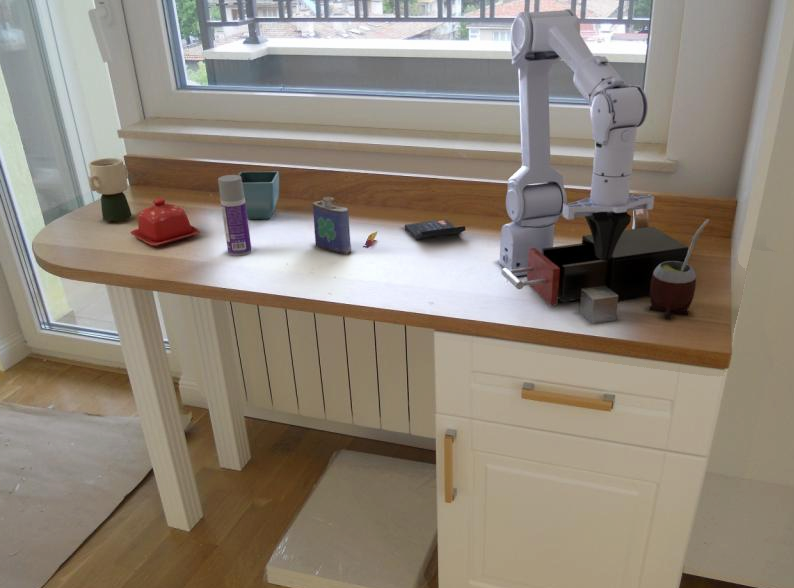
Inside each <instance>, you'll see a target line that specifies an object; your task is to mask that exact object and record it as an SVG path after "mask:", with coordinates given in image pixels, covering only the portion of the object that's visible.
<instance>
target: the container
mask: <svg viewBox="0 0 794 588" xmlns="http://www.w3.org/2000/svg"><path fill="white" fill-rule="evenodd" d="M217 181H218V192H219V200H220V207H221V215H222V221H223V226H224V227H223V228H224V234H225V239H226V246H227V253H228V255H230V256H232V257H242V256H247V255H249V254H251V253H252V251H253V250H252V243H251V235H250V234H251V233H250V227H249V219H248V218H247V211H246V203H245V197H244V191H243V185H242V178H241V176H239V174H227V175H226V174H225V175H222V176H220V177H218V178H217Z"/></svg>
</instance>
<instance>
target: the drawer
mask: <svg viewBox="0 0 794 588" xmlns="http://www.w3.org/2000/svg"><path fill="white" fill-rule="evenodd" d="M611 262H612V260H611V259H607V258H606V259H605V260H600V259H599V258H598V257H596V255H595V248H594V247H593V246H592V245H590V244H589V243H582V242H581V243H574V244H567V245H566V244H565V245H558V246H553V247H550V248H543V249H542V253H540V252H539V251H538V250H537V249H535V248H531V249H529V253H528V267H526V268H519V269H512V270H509V269H508V268H504V267H503V268H502V269H501V275H502V276H503V277H504V278H505V279H506V280H507V281H508V282H509V283H511V284H512V285H513V286H514V288H516V289H517V290H522V289H523V288H524V287H530V288H531V289H532V290H533V291H534V292H535V293H536V294H538V295H539V297H541V299H543V300H544V301H545V302H546V303H547V304H548V305H549V306H550V307H552V306H557V305H558V300H560V301H561V302H568V301H574V300H581V289H585V288H592V287H598V286H607V287H608V288H609V281H610V271H611ZM522 272H527V275H526V280H525V281H522V280H521V279H520V278H519V276H515V275H514V274H515V273H522Z"/></svg>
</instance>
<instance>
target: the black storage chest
mask: <svg viewBox="0 0 794 588" xmlns="http://www.w3.org/2000/svg"><path fill="white" fill-rule="evenodd" d="M581 238H582V239H581V243H589V244H590V245H592V246H593V247H594V241H593V237H592V234H587V235H582V237H581ZM594 248H595V247H594ZM688 251H689V246H687V245H685V244H684V243H683V242H680V241H679V240H677V239H676V238H674V237H672V236H670V235H668V234H667V233H665V232H663V231H662V230H660V229H658V228H657V227H655V226H649V227H646V228H638V229H632V228H631V229H625V230H624V231H623V233H622V235H621V236H620V238H619V240H618V242H617V244H616V247H615V249H614V252H613V255H612V258H611V260H612V262H611V271H610V281H609V289H611V290H612V291H613V292H615V293H616V294H617V295H618V302H622V301H623V302H624V301H629V300H636V299H641V298H642V299H643V298H647V297H649V298H650V283H651V278H652V275H653V273H654V270H655V269H656V267H657V266H658V265H659V264H661V263H663V262H667V261H678V262H683V263H684V261H685V258H686V256H687V253H688Z"/></svg>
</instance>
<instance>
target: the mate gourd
mask: <svg viewBox="0 0 794 588" xmlns="http://www.w3.org/2000/svg"><path fill="white" fill-rule="evenodd" d="M710 221H711V219H710V218H707V219H705V221H704V222H703V223H702V224H701V225H700V226H699V227H698V229H697V230H696V232H695V234H693V236H692V238H691V243H690V246H689V247H688V253H687V256H686V258H685V261H684V263H683V262H678V261H667V262H663V263H661V264H659V265H658V266H657V267H656V269H655V270H654V273H653V275H652V278H651V283H650V296H649V299H650V306H649V311H652V312H660V313H664V320H670V319H671V315H672V314H673V315H674V314H675V315H683V316H688V315H689V313H690V310H689V308H690V306H691V304H692V302H693V300H694V296H695V290H696V286H697V285H696V284H697V275H696V272H695V270H694V268H693V267H692V266H691V265H690V264H688V263H689V260H690V258H691V255H692V252H693V249H694V247H695V244H696V243H697V242H698V239H699V237H700V236H699V235H700V234H701V232H702V231H703V230H704V228H705V227H706V226H707V225H708V224H709V222H710Z"/></svg>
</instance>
